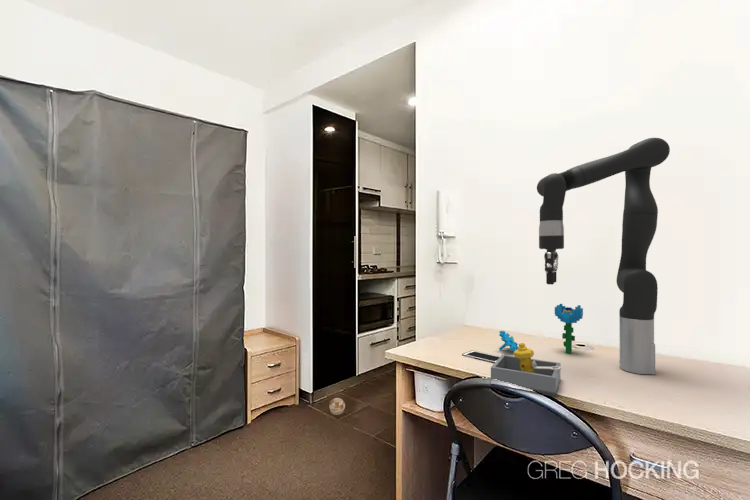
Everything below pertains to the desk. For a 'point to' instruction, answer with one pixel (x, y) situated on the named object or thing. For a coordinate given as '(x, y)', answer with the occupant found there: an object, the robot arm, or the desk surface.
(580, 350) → the desk surface
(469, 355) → the cell phone
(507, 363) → the bin
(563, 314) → the toy flower
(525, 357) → the pressure relief valve
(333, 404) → the trinket box
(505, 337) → the blue blocky piece
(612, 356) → the desk surface
